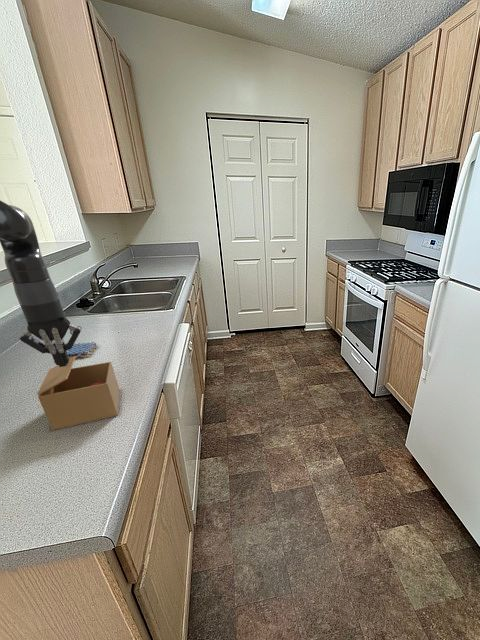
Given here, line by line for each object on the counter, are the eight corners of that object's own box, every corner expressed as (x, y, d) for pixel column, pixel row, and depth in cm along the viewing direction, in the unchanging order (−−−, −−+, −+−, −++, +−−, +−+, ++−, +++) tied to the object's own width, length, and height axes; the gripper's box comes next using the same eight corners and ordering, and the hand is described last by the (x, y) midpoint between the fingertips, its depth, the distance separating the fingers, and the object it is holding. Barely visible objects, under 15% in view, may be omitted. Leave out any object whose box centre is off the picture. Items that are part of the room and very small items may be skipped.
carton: (52, 430, 84) (37, 397, 79) (62, 402, 95) (50, 372, 90) (117, 415, 89) (107, 383, 84) (119, 390, 100) (111, 361, 96)
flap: (38, 395, 79) (36, 394, 79) (50, 370, 90) (49, 369, 90) (67, 379, 80) (65, 378, 80) (75, 357, 91) (74, 355, 91)
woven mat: (57, 360, 120) (55, 355, 119) (69, 348, 129) (67, 343, 128) (89, 357, 121) (87, 352, 120) (98, 345, 131) (97, 341, 130)
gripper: (-2, 307, 72) (28, 377, 79) (69, 299, 76) (91, 366, 84) (9, 298, 78) (36, 364, 86) (74, 292, 83) (94, 354, 90)
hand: (64, 365), depth 85 cm, fingers closed
